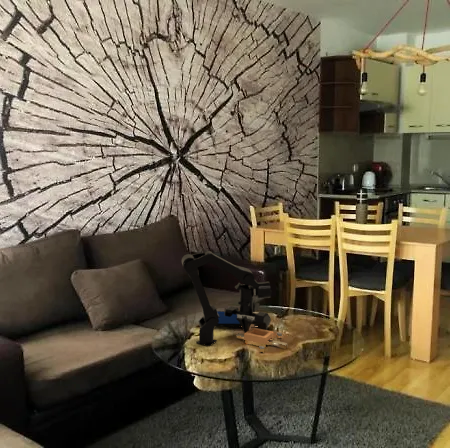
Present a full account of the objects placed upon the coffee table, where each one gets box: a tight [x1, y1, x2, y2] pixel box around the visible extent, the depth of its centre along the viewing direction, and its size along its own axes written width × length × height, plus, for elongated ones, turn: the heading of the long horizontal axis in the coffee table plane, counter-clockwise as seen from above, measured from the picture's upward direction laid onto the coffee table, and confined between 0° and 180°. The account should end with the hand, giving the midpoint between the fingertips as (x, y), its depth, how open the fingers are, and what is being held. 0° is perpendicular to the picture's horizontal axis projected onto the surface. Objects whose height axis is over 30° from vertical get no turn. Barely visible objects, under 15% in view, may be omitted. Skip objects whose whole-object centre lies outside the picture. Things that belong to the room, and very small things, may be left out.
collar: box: [243, 327, 275, 344], centre depth 237 cm, size 8×10×4 cm
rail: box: [236, 331, 288, 349], centre depth 236 cm, size 18×23×2 cm
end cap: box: [250, 315, 272, 330], centre depth 250 cm, size 10×7×7 cm
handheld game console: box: [215, 310, 242, 328], centre depth 257 cm, size 16×13×9 cm
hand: (246, 333), depth 240 cm, fingers closed
